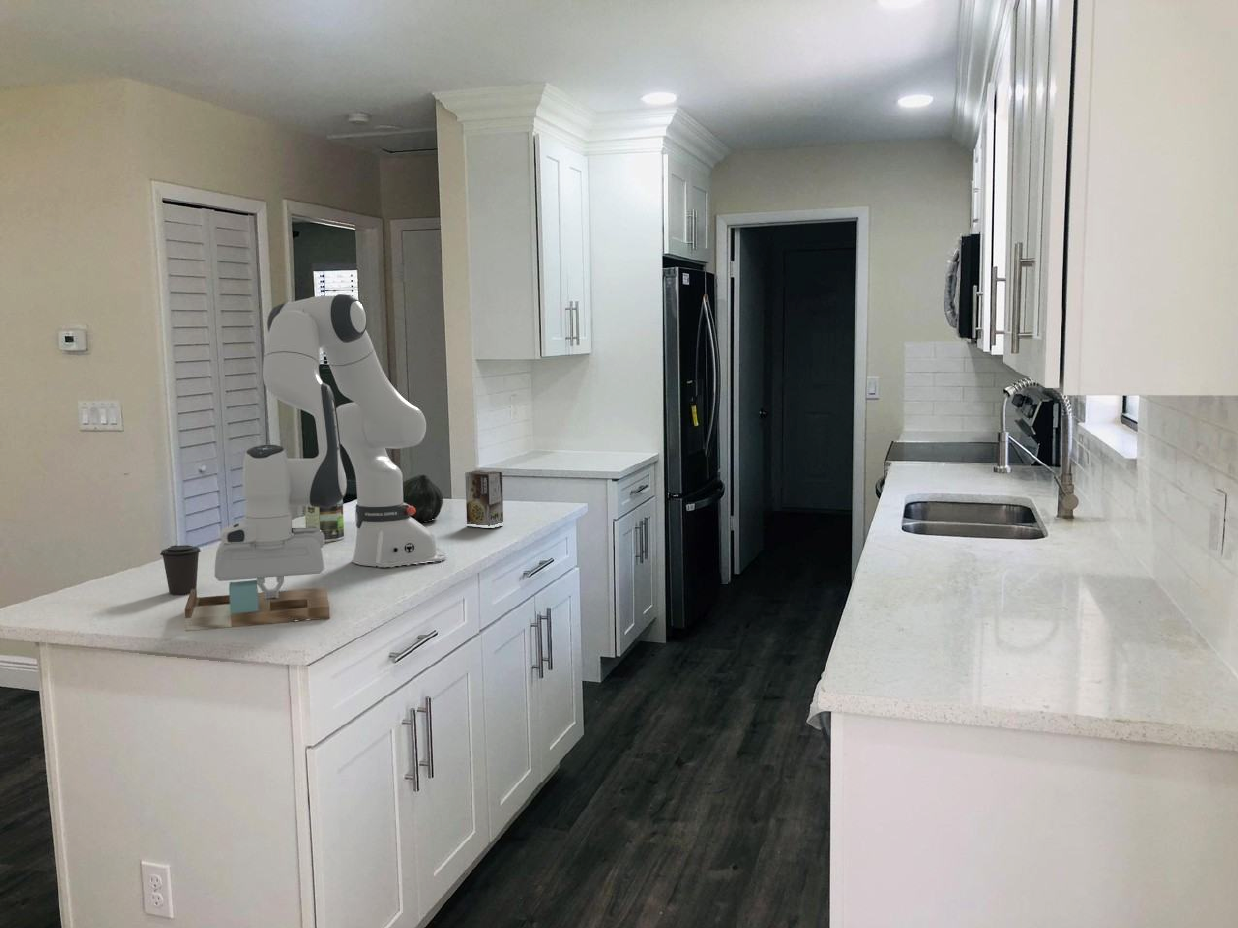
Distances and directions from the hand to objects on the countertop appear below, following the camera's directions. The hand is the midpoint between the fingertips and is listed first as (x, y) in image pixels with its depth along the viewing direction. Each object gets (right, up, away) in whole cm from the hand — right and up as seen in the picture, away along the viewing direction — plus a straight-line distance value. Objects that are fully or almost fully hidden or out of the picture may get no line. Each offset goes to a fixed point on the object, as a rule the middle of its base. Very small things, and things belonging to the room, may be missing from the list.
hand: (271, 598), depth 199 cm
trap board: (-3, -3, +3) cm, 6 cm away
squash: (+8, +9, +107) cm, 107 cm away
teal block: (-4, -2, -2) cm, 5 cm away
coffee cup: (-26, -2, +21) cm, 34 cm away
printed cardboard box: (+29, +8, +97) cm, 102 cm away
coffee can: (-12, +6, +79) cm, 80 cm away
